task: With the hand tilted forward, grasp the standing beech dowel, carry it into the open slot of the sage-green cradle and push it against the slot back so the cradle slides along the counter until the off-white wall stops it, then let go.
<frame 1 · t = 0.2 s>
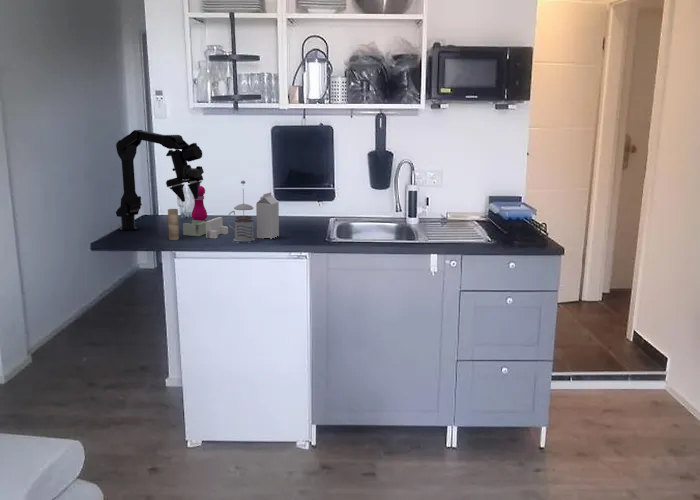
hand: (190, 200, 271), 15 cm above the counter, tool tilted 15°, fingers open, 9 cm apart
backstop wall: (214, 235, 275), on the counter
french press: (242, 240, 266), on the counter
cradle: (196, 228, 277), point 3 cm above the counter, slide at 0.0 cm
pepper mill: (199, 224, 300), on the counter
milk carton: (267, 237, 273), on the counter
dowel: (174, 239, 266), on the counter
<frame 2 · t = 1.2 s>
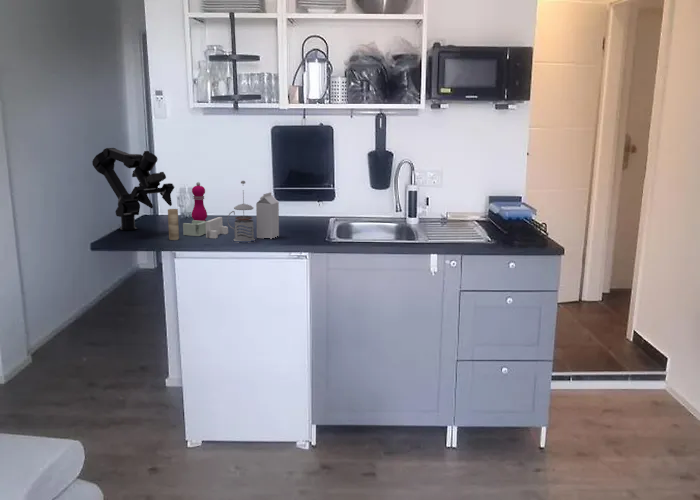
hand: (162, 206, 268), 13 cm above the counter, tool tilted 45°, fingers open, 9 cm apart
nothing on the counter moved.
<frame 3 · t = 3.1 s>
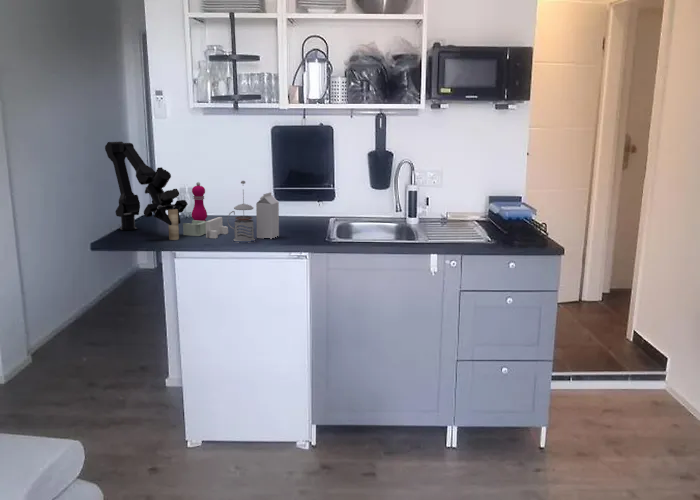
hand: (175, 224, 264), 7 cm above the counter, tool tilted 45°, fingers closed on dowel, 4 cm apart
dowel: (174, 239, 266), on the counter, touching gripper
everything else where it was.
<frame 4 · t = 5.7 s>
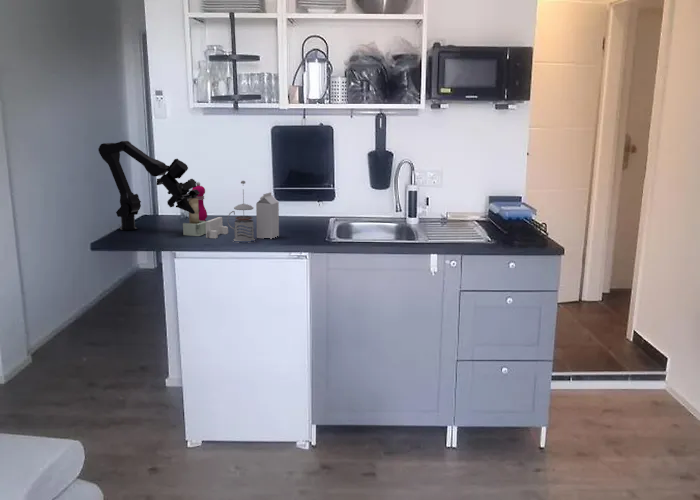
hand: (196, 212, 275), 10 cm above the counter, tool tilted 45°, fingers closed on dowel, 4 cm apart
dowel: (194, 227, 277), point 3 cm above the counter, touching gripper
everything else where it was.
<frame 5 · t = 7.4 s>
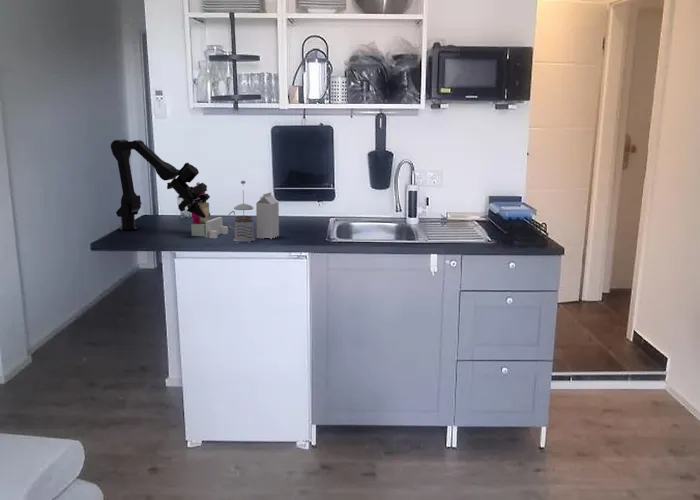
hand: (207, 216, 274), 8 cm above the counter, tool tilted 45°, fingers closed on dowel, 4 cm apart
cradle: (204, 228, 276), point 3 cm above the counter, slide at 4.0 cm
dowel: (204, 231, 276), point 1 cm above the counter, touching gripper
everything else where it was.
when the fingers open (8 cm above the counter, at t = 8.2 s): dowel stays where it is, resting on cradle.
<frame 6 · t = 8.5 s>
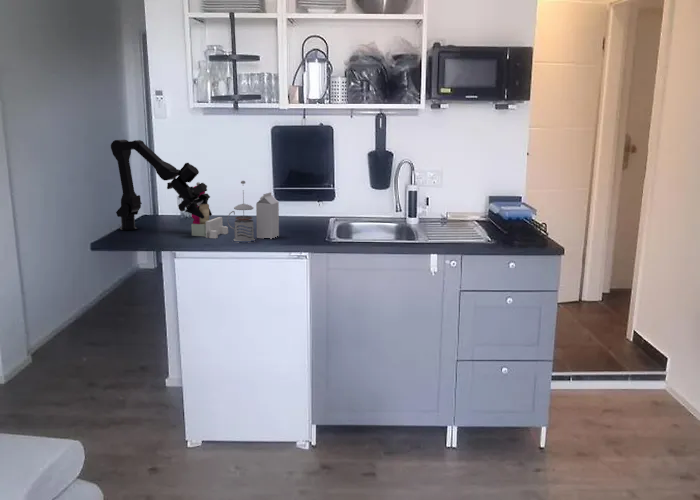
hand: (207, 216, 274), 8 cm above the counter, tool tilted 45°, fingers open, 7 cm apart
cradle: (204, 228, 276), point 3 cm above the counter, slide at 4.0 cm, touching dowel
dowel: (204, 233, 276), point 1 cm above the counter, touching cradle
everything else where it was.
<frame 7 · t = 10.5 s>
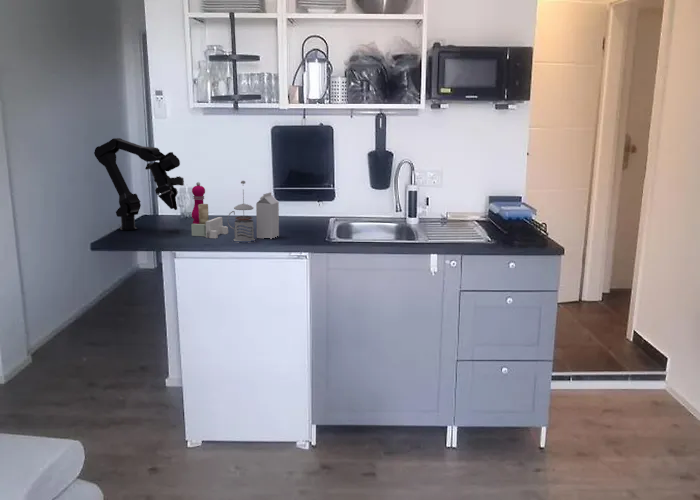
hand: (174, 209, 275), 11 cm above the counter, tool tilted 25°, fingers open, 9 cm apart
nothing on the counter moved.
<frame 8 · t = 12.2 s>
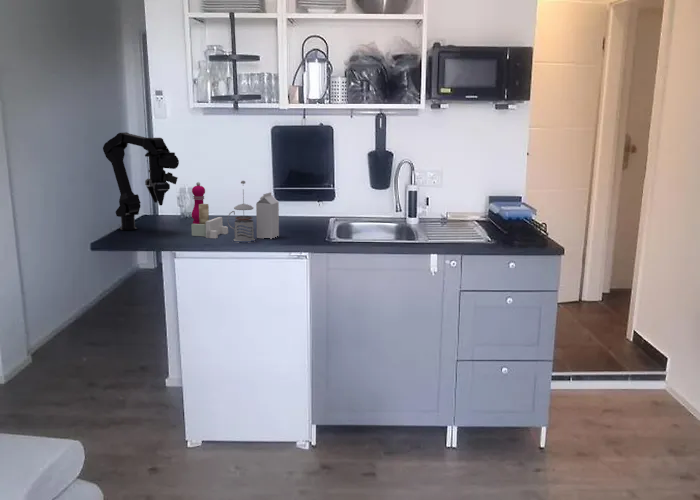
hand: (158, 203, 274), 13 cm above the counter, tool pointing down, fingers open, 9 cm apart
nothing on the counter moved.
at the end: dowel 0.3 cm off-centre on the cradle, point 0.7 cm above the cradle's base; cradle slide at 4.0 cm; dowel tilted 1° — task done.
